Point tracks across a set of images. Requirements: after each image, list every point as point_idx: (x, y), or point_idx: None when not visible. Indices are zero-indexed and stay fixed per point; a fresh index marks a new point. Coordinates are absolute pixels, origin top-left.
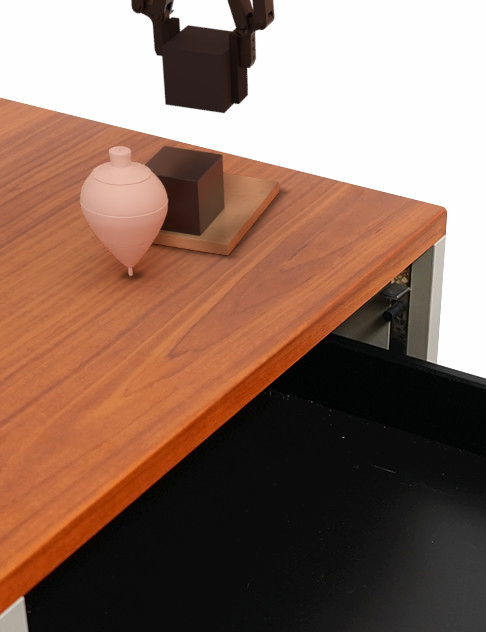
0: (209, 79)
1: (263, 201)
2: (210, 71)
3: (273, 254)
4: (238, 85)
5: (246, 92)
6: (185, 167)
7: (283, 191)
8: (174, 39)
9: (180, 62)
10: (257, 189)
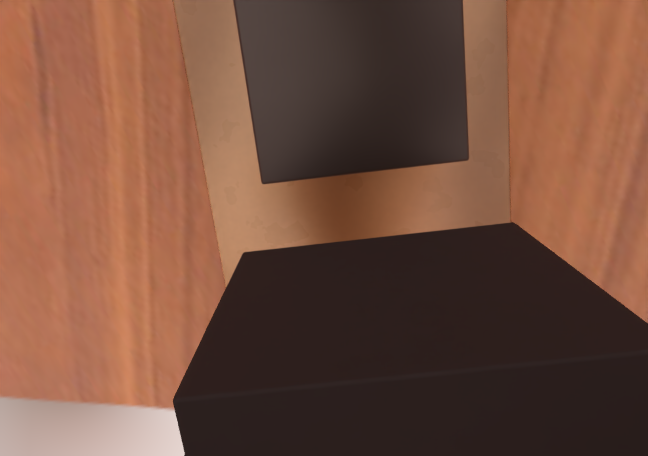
0: (293, 300)
1: (217, 240)
2: (281, 322)
3: (83, 24)
4: None
5: None
6: (316, 12)
7: None
8: None
9: (490, 316)
10: None
